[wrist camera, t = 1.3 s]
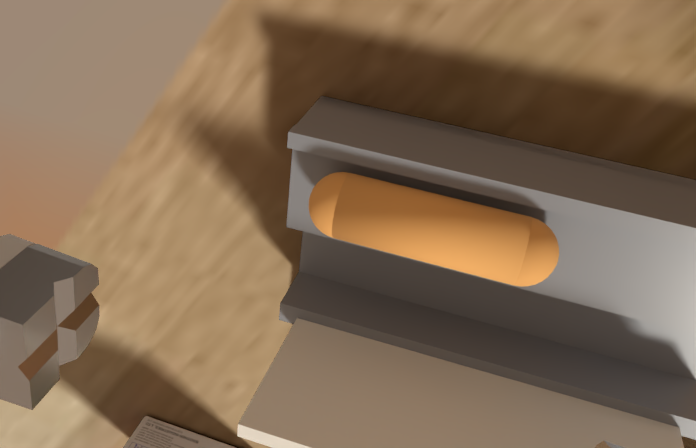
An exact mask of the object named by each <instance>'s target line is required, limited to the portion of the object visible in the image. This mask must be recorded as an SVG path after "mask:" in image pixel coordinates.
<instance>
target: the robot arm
mask: <svg viewBox="0 0 696 448" xmlns="http://www.w3.org/2000/svg"><path fill="white" fill-rule="evenodd" d="M98 285H99V278H98V268H97V267H95V266H94V265H92V264H90V263H87V262H85V261H82V260H79V259H77V258H74V257H71V256H69V255H66V254H63V253H61V252H58V251H55V250H53V249H50V248H47V247H44V246H42V245H39V244H35V243H32V242H30V241H27V240H24V239H22V238H19V237H16V236H14V235H11V234H8V235H3V236H0V399H2V400H5V401H7V402H10V403H13V404H16V405H19V406H22V407H25V408H28V409H31V410H33V409H34V408H35V406H36V405H37V404H38V403H39V402H40V401H41V400H42V398H43V397H44V396H45V395H46V394H47V393H48V392H49V390H50V389H51V388H52V387H53V386H54V385H55V384H56V383H57V381H58V380H59V379H60V372H59V366H60V365H63V364H65V363H68V362H70V361H73V360H76V359H77V358H78V357H79V356H80V355H81V354H82V352H83V351H84V350H85V349H86V348H87V346H88V345H89V343H90V341H91V339H92V337H93V335H94V333H95V331H96V328H97V324H98V320H99V304H98V302H97V301H96V299H95V298H94V296H93V295H92V293H91V292H92V291H93V290H94V289H95V288H96V287H97V286H98ZM595 448H624V447H621V446H618V445H616V444H613V443H610V442H607V441H602V442H601V443H599V444H597V445H596V447H595Z"/></svg>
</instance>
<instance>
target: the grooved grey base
mask: <svg viewBox="0 0 696 448" xmlns="http://www.w3.org/2000/svg"><path fill="white" fill-rule="evenodd" d="M287 148H290V149H292V161H291V174H290V187H289V200H288V213H287V226H286V227H288V228H292V229H296V230H299V231H303V235H302V245H301V256H300V266H299V272H298V274H297V276H296V278H295V279H294V281H293V283H292V284H291V286H290V288H289V289H288V291H287V293H286V295H285V296H284V298H283V300H282V301H281V303H280V315H279V320H282V321H285V322H289V323H292V324H294V322H295V320H296V319H297V318H299V319H302V320H306V321H309V322H313V323H316V324H320V325H323V326H327V327H330V328H334V329H337V330H341V331H344V332H348V333H351V334H355V335H358V336H362V337H365V338H369V339H372V340H376V341H379V342H383V343H386V344H390V345H393V346H397V347H400V348H404V349H407V350H411V351H414V352H418V353H421V354H425V355H428V356H432V357H435V358H438V359H442V360H445V361H449V362H452V363H456V364H459V365H463V366H466V367H470V368H473V369H477V370H480V371H484V372H487V373H491V374H494V375H498V376H501V377H505V378H508V379H512V380H515V381H519V382H522V383H526V384H529V385H533V386H536V387H540V388H543V389H547V390H550V391H554V392H557V393H561V394H564V395H567V396H571V397H574V398H578V399H581V400H585V401H588V402H592V403H595V404H599V405H602V406H606V407H609V408H613V409H616V410H620V411H623V412H627V413H630V414H634V415H637V416H641V417H644V418H648V419H651V420H655V421H658V422H662V423H665V424H669V425H672V426H676V427H679V428H680V432H681V436H684V437H687V438H691V439H694V440H696V180H693V179H689V178H685V177H680V176H676V175H671V174H667V173H662V172H658V171H653V170H649V169H645V168H640V167H636V166H631V165H627V164H622V163H618V162H613V161H609V160H605V159H600V158H596V157H591V156H587V155H582V154H578V153H574V152H569V151H565V150H560V149H556V148H551V147H547V146H542V145H538V144H534V143H529V142H525V141H520V140H516V139H511V138H507V137H502V136H498V135H494V134H489V133H485V132H480V131H476V130H471V129H467V128H462V127H458V126H454V125H449V124H445V123H440V122H436V121H431V120H427V119H422V118H418V117H414V116H409V115H405V114H400V113H396V112H391V111H387V110H382V109H378V108H374V107H369V106H365V105H360V104H356V103H351V102H347V101H342V100H338V99H334V98H329V97H325V96H321V97H320V98H319V99H318V100H317V101H316V102H315V104H314V105H313V106H312V107H311V108H310V109H309V110H308V112H307V113H306V114H305V115H304V116H303V117H302V118H301V119H300V121H299V122H298V123H297V124H296V125H294V126H293V127H292V128H291V129H290V130H289V131H288V141H287ZM336 172H348V173H353V174H357V175H362V176H366V177H370V178H374V179H378V180H382V181H386V182H390V183H394V184H398V185H403V186H407V187H411V188H415V189H419V190H423V191H427V192H431V193H435V194H439V195H444V196H448V197H452V198H456V199H460V200H464V201H468V202H472V203H476V204H480V205H485V206H489V207H493V208H497V209H501V210H505V211H509V212H513V213H517V214H521V215H526V216H530V217H533V218H536V219H538V220H540V221H542V222H543V223H545V224H546V225H547V226H548V227H549V228H550V229H551V230H552V231H553V233H554V234H555V236H556V238H557V241H558V245H559V259H558V262H557V265H556V267H555V269H554V270H553V272H552V273H551V274H550V275H549V276H548V277H547V278H546V279H545V280H543V281H542V282H540V283H538V284H535V285H531V286H514V285H510V284H506V283H502V282H499V281H495V280H491V279H487V278H483V277H479V276H476V275H472V274H468V273H464V272H460V271H457V270H453V269H449V268H445V267H441V266H438V265H434V264H430V263H426V262H422V261H419V260H415V259H411V258H407V257H403V256H399V255H396V254H392V253H388V252H384V251H380V250H377V249H373V248H369V247H365V246H361V245H358V244H354V243H350V242H346V241H342V240H339V239H335V238H332V237H329V236H327V235H325V234H324V233H322V232H321V231H320V230H319V229H318V228H317V227H316V226H315V225H314V223H313V221H312V219H311V217H310V213H309V197H310V194H311V192H312V190H313V188H314V186H315V185H316V184H317V183H318V182H319V181H320V180H321V179H322V178H324V177H325V176H327V175H329V174H332V173H336Z"/></svg>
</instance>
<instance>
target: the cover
mask: <svg viewBox="0 0 696 448" xmlns="http://www.w3.org/2000/svg"><path fill="white" fill-rule="evenodd" d="M237 436H238V437H241V438H244V439H247V440H251V441H254V442H257V443H260V444H263V445H266V446H269V447H272V448H595V447H596V445H597V444H599V443H601V442H602V441H607V442H610V443H613V444H616V445H618V446H621V447H624V448H684V446H683V441H682V436H681V432H680V428H679V427H676V426H672V425H669V424H665V423H662V422H658V421H655V420H651V419H648V418H644V417H641V416H637V415H634V414H630V413H627V412H623V411H620V410H616V409H613V408H609V407H606V406H602V405H599V404H595V403H592V402H588V401H585V400H581V399H578V398H574V397H571V396H567V395H564V394H561V393H557V392H554V391H550V390H547V389H543V388H540V387H536V386H533V385H529V384H526V383H522V382H519V381H515V380H512V379H508V378H505V377H501V376H498V375H494V374H491V373H487V372H484V371H480V370H477V369H473V368H470V367H466V366H463V365H459V364H456V363H452V362H449V361H445V360H442V359H438V358H435V357H432V356H428V355H425V354H421V353H418V352H414V351H411V350H407V349H404V348H400V347H397V346H393V345H390V344H386V343H383V342H379V341H376V340H372V339H369V338H365V337H362V336H358V335H355V334H351V333H348V332H344V331H341V330H337V329H334V328H330V327H327V326H323V325H320V324H316V323H313V322H309V321H306V320H302V319H299V318H297V319H296V320H295V322H294V324H293V326H292V328H291V329H290V331H289V333H288V335H287V337H286V338H285V340H284V342H283V344H282V346H281V347H280V349H279V351H278V353H277V355H276V357H275V358H274V360H273V362H272V364H271V366H270V367H269V369H268V371H267V373H266V375H265V376H264V378H263V380H262V382H261V384H260V385H259V387H258V389H257V391H256V393H255V394H254V396H253V398H252V400H251V402H250V403H249V405H248V407H247V409H246V411H245V412H244V414H243V416H242V418H241V420H240V421H239V423H238V434H237Z"/></svg>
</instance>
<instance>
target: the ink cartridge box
mask: <svg viewBox="0 0 696 448" xmlns="http://www.w3.org/2000/svg"><path fill="white" fill-rule="evenodd" d="M123 448H236V447H234V446H231V445H228V444H225V443H222V442H219V441H216V440H213V439H211V438H208V437H205V436H202V435H199V434H197V433H194V432H191V431H188V430H186V429H183V428H180V427H177V426H174V425H171V424H168V423H166V422H163V421H160V420H157V419H154V418H152V417H149V416H145V417H144V418H143V419H142V421H141V422H140V424H139V425H138V427H137V428H136V429H135V431H134V432H133V434H132V435H131V437H130V438H129V440H128V441H127V443H126V444H125V446H124V447H123Z"/></svg>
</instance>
